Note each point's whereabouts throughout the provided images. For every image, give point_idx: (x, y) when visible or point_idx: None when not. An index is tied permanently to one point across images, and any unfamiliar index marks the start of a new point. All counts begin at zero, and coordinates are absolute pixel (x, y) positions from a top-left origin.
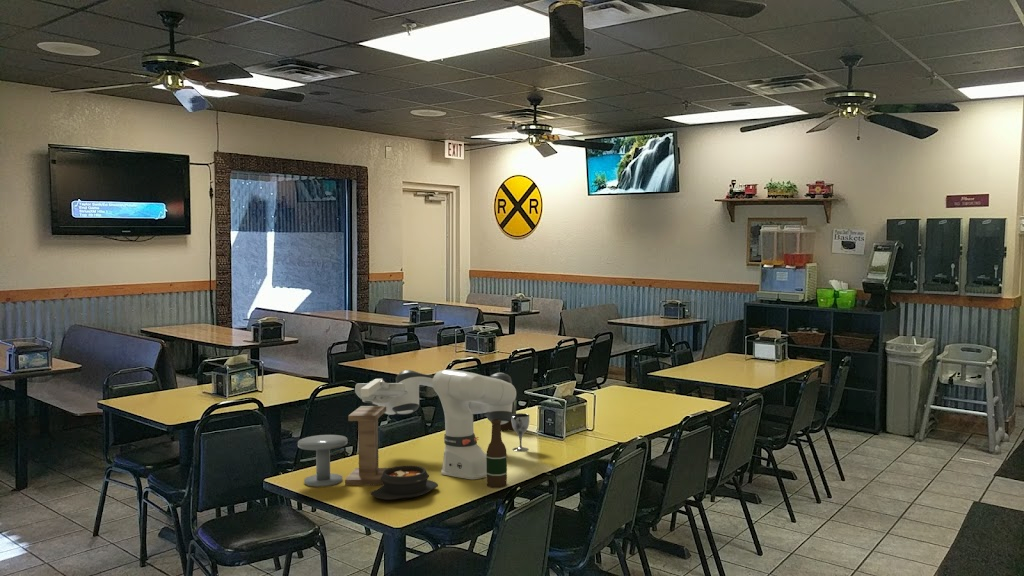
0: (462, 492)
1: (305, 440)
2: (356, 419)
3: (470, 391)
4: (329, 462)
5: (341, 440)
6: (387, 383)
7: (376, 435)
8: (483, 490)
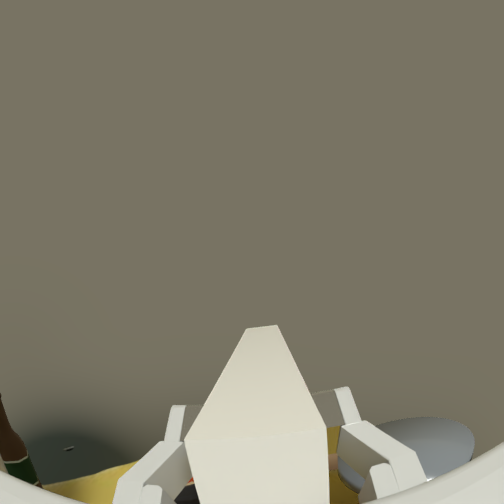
0: (93, 493)
1: (447, 430)
2: None
3: None
4: None
5: None
6: (134, 468)
7: None
8: (61, 490)
